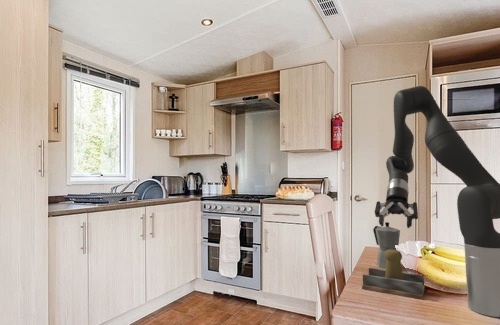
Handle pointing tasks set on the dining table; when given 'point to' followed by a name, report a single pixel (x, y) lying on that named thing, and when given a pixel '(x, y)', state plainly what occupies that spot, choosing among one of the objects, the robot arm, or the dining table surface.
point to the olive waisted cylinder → (393, 264)
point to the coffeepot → (385, 241)
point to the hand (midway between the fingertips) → (394, 225)
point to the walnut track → (394, 283)
